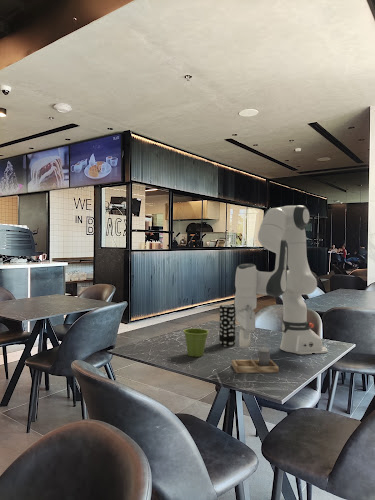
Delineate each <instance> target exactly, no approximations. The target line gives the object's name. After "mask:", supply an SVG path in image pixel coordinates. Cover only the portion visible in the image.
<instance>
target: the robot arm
mask: <svg viewBox="0 0 375 500" xmlns="http://www.w3.org/2000/svg"><path fill="white" fill-rule="evenodd" d="M310 219H311V217H310V211H309V209H308V208H307V207H306V206H305V205H300V204H299V205H284V206H279V207H272V208H269V209H268V208H267V210H266V211H265V212H264V214H263V218H262V221H261V224H260V227H259V230H258V233H257V239H258V242H259V244H260V245H261V246H262V247H263V248H265V249H266V250H267V251H270V252H272V253H275V265H274V269H273V270H272V271H260V270H258V269H257V265H255V264H253V263H249V262H248V263H241V264H239V265H237V267H236V269H235V270H236V271H235V279H234V280H235V281H234V286H235V294H234V300H233V305H234V306H235V311H236V323H238V325H239V327H240V326H242V327H243V328H244V331H245V334H244V338H245V339H249V334H250V335H251V332H255V331H256V312H255V311H254V310H255V309H257V307H258V305H257V304H258V302H257V301H258V300H257V296H258V295H264V296H269V297H274V298H280V297H281V298H282V303H283V307H282V309H283V319H282V325H281V330H282V334H281V335H282V338H281V342H280V346H279V349H280V350H282V351H284V352H287V353H294V354H296V355H297V354H298V355H313V354H312V353H315V354H324V353H328V349H327V347H326V346H323V341H322V339H321V337H320V336H319V335H318V334H316V332H315V331H313V330H312V329H311V328H314V327H315V325H314V323H312V322H308V321H307V317H308V315H307V313H308V310H307V304H306V302H305V301H304V299H303V296H304V295H311V294H312V293H314V292H315V291H316V289H317V287H318V281H317V278H316V277H315V276H314V274H313V273H312V271H311V268H310V265H309V262H308V257H307V256H308V255H307V254H308V253H307V251H308V250H307V235H306V230H305V228H306V227H307V226H308V224H309V223H310ZM257 294H258V295H257ZM302 295H303V296H302Z"/></svg>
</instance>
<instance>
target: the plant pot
mask: <svg viewBox="0 0 375 500" xmlns="http://www.w3.org/2000/svg"><path fill="white" fill-rule="evenodd" d="M183 333H184V336H185V342H186V349H187V351H186V352H187V355H188V356H189V357H197V358H199V357H200V358H202V356H204V352H205V347H206V341H207V338H208V335H209V330H208V329H205V328H195V327H194V328H186V329H183Z"/></svg>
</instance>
